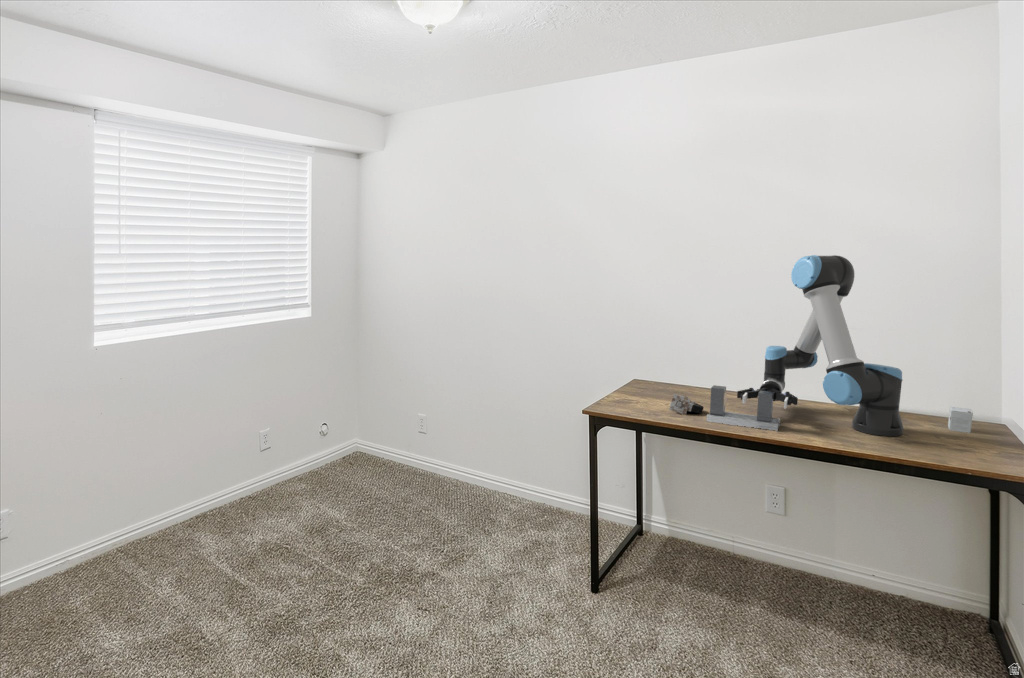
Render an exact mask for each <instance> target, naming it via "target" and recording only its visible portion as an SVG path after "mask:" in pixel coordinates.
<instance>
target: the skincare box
mask: <svg viewBox="0 0 1024 678" xmlns="http://www.w3.org/2000/svg"><path fill="white" fill-rule="evenodd" d="M973 414H974V412H973V410H972V409H971V408H963V407H956V406H949V413H948V421H947V427H948V430H949V431H951V432H952V431H953V432H957V433H966V432H967V433H966V434H971V432H972V424H973V416H974V415H973Z"/></svg>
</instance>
